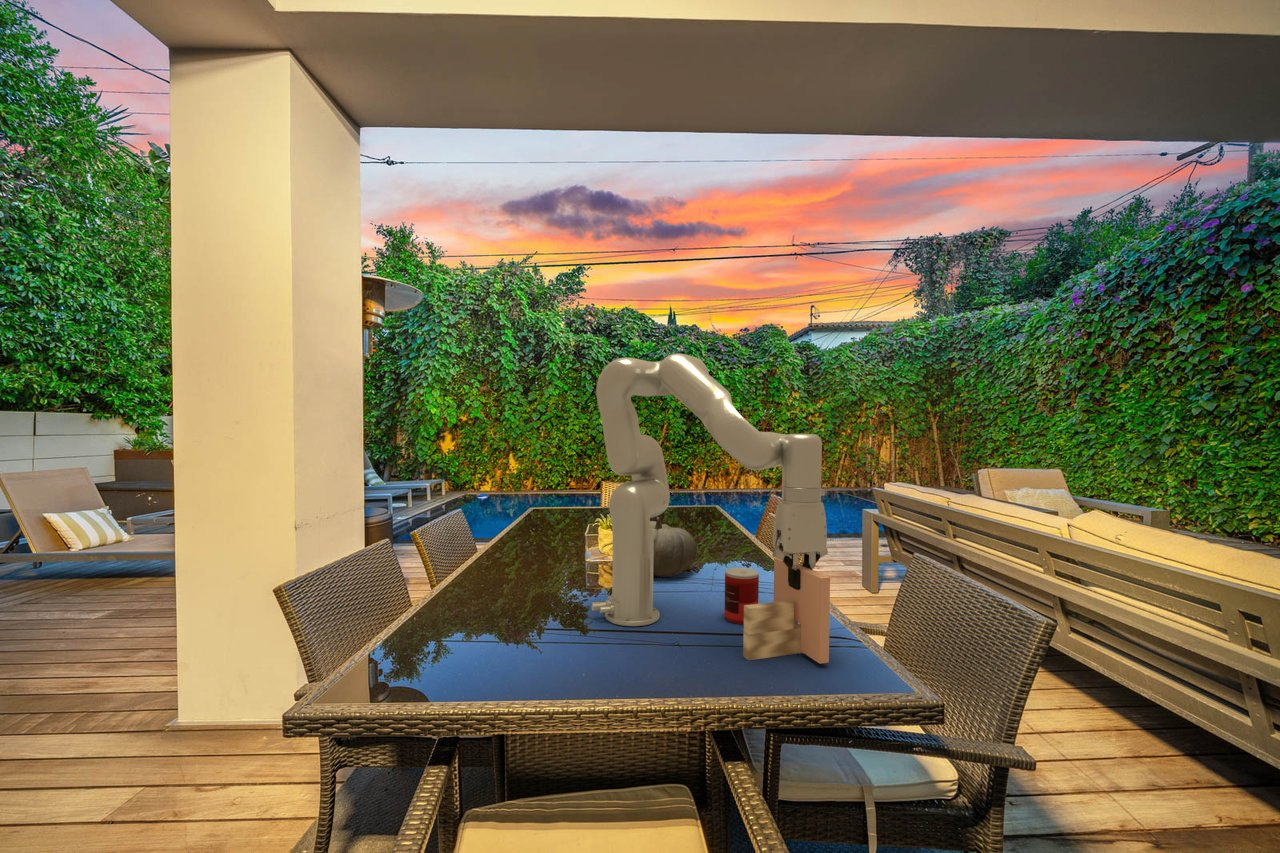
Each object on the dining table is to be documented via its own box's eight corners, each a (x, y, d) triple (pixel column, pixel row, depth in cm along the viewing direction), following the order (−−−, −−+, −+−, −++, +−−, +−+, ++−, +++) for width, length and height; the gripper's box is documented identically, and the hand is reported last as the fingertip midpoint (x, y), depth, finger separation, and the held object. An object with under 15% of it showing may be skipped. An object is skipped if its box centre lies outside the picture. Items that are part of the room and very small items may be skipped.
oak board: (748, 660, 110) (749, 608, 110) (743, 656, 112) (743, 605, 111) (827, 649, 116) (827, 600, 115) (821, 645, 117) (821, 597, 117)
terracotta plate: (819, 663, 107) (821, 578, 106) (773, 632, 122) (774, 558, 122) (828, 662, 107) (830, 577, 107) (781, 631, 122) (782, 557, 122)
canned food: (761, 615, 135) (762, 569, 135) (753, 626, 128) (754, 577, 127) (729, 610, 138) (730, 565, 138) (720, 621, 131) (720, 573, 131)
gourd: (602, 571, 162) (611, 510, 164) (619, 564, 186) (627, 511, 188) (689, 586, 157) (698, 523, 159) (695, 577, 181) (702, 523, 184)
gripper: (823, 492, 120) (821, 579, 120) (756, 494, 115) (755, 585, 115) (846, 496, 113) (845, 589, 113) (777, 499, 108) (775, 596, 108)
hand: (800, 586), depth 114 cm, fingers closed on terracotta plate, 2 cm apart
